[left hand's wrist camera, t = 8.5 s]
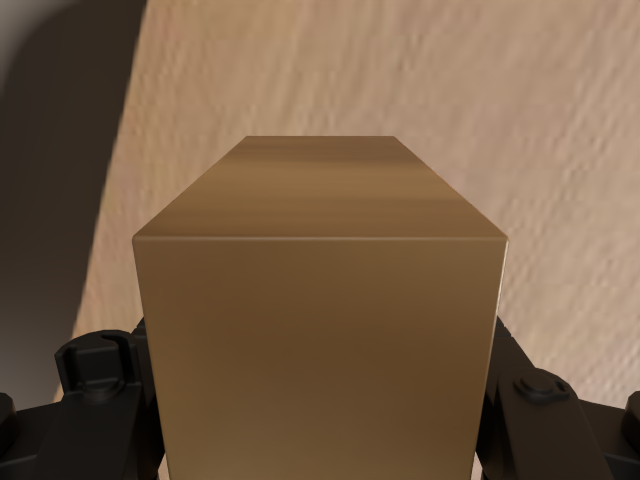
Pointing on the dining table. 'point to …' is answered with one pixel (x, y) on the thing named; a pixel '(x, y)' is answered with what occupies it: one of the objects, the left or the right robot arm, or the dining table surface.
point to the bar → (320, 315)
